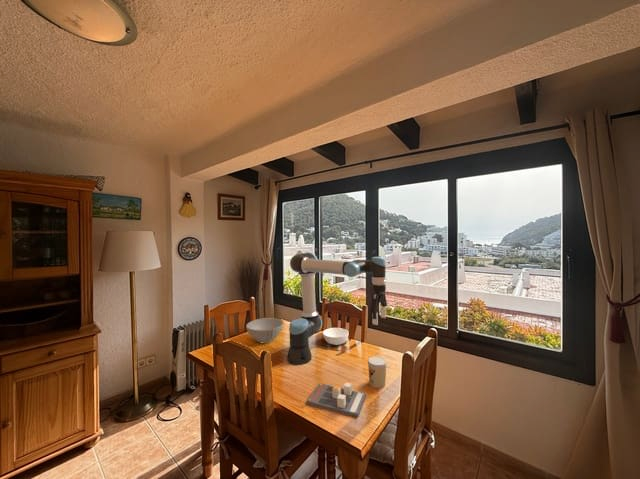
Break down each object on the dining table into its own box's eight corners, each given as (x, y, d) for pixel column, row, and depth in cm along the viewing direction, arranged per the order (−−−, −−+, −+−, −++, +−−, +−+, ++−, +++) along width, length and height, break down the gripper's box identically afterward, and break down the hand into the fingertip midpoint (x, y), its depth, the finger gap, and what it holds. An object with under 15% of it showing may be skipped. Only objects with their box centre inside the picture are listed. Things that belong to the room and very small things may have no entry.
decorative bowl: (280, 347, 179) (280, 330, 178) (241, 348, 179) (241, 330, 179) (286, 332, 205) (285, 317, 205) (252, 333, 206) (251, 318, 206)
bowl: (353, 340, 188) (352, 330, 188) (341, 350, 173) (341, 339, 173) (331, 335, 198) (331, 326, 198) (318, 344, 183) (317, 334, 183)
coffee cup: (366, 379, 138) (365, 357, 137) (383, 378, 139) (383, 355, 138) (371, 390, 128) (370, 365, 128) (389, 388, 129) (389, 364, 129)
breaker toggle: (332, 397, 120) (332, 388, 120) (334, 394, 123) (334, 385, 123) (338, 399, 119) (338, 390, 119) (340, 395, 122) (340, 386, 122)
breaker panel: (306, 404, 119) (306, 392, 119) (319, 386, 132) (319, 375, 132) (358, 417, 109) (357, 404, 109) (366, 396, 123) (365, 385, 123)
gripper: (377, 288, 137) (378, 328, 137) (391, 280, 158) (392, 315, 158) (364, 287, 141) (364, 326, 141) (379, 279, 162) (380, 313, 162)
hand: (379, 320), depth 150 cm, fingers open, 13 cm apart
